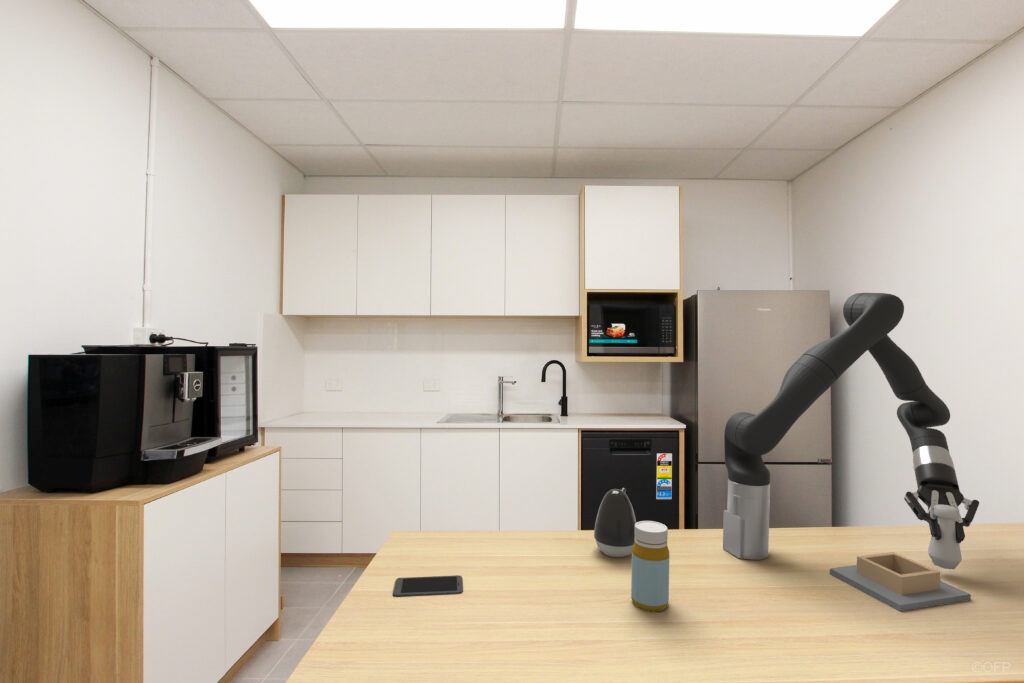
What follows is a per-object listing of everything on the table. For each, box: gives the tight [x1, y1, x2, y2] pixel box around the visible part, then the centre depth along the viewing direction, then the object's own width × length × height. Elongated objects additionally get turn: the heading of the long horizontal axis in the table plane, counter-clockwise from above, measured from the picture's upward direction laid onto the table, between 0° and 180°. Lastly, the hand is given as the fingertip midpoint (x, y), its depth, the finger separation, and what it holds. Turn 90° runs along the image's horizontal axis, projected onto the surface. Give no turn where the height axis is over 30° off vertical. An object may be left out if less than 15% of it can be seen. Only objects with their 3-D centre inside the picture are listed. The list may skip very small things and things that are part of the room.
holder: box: [829, 551, 972, 612], centre depth 111 cm, size 18×16×5 cm
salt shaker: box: [927, 505, 963, 570], centre depth 116 cm, size 6×6×13 cm
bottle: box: [630, 520, 670, 612], centre depth 103 cm, size 7×7×15 cm
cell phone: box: [392, 574, 464, 598], centre depth 109 cm, size 7×14×1 cm, turn 97°
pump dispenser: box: [593, 487, 637, 558], centre depth 126 cm, size 10×10×15 cm
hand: (948, 539), depth 114 cm, fingers closed on salt shaker, 3 cm apart
